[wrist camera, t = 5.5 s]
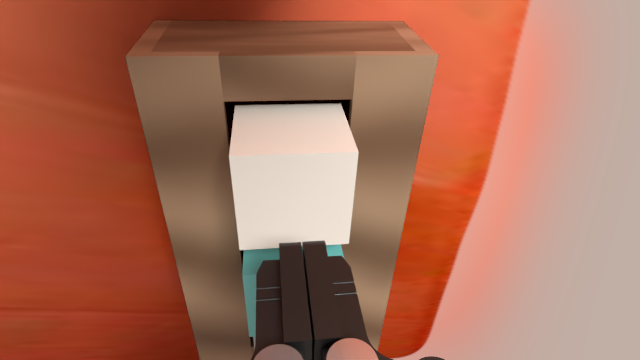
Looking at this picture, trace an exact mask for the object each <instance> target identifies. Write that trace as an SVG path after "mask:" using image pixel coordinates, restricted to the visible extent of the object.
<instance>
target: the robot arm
mask: <svg viewBox="0 0 640 360" xmlns="http://www.w3.org/2000/svg"><path fill="white" fill-rule="evenodd" d="M251 360H393V359H389V358H387V357H385V356H383V355H382V354H380V353H379V352H378V351H377V350H376V349H375V348H374V347H373V346H372V345H371V343H370V341H369V339H368V336H367V333H366V329H365V324H364V320H363V316H362V312H361V308H360V304H359V299H358V295H357V291H356V287H355V283H354V278H353V274H352V270H351V267H350V265H349V264H348V263H347V262H346V260H345V259H344V258H343V257H342V256H328V254H327V249H326V243H325V241H324V240H323V241H306V242H302V245H301V242H290V243H279V260H263V262H262V264H261V266H260V267H259V269H258V271H257V273H256V337H255V350H254V354H253V356H252V358H251ZM420 360H444V359H442V358H438V357H424V358H421V359H420Z"/></svg>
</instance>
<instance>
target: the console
mask: <svg viewBox="0 0 640 360" xmlns="http://www.w3.org/2000/svg"><path fill="white" fill-rule="evenodd" d="M438 57H439V55H438V54H437V53H436V52H435V51H434V50H433V49H432V48H431V47H430V46H429V45H428V44H427V43H426V42H425V41H424V40H422V39H421V38H420V37H419V36H418V35H417V34H416V33H415V32H414V31H413V30H412V29H411V28H410V27H409V26H408V25H407V24H406V23H405V22H402V21H221V20H154V21H153V22H152V23H151V24H150V26H149V27H148V28H147V30H146V31H145V32H144V33H143V35H142V36H141V37H140V38H139V40H138V41H137V42H136V43H135V45H134V46H133V47H132V48H131V50H130V51H129V52H128V53H127V55H126V56H125V58H126V62H127V67H128V71H129V75H130V79H131V83H132V87H133V91H134V95H135V99H136V103H137V107H138V111H139V115H140V119H141V123H142V127H143V131H144V135H145V139H146V143H147V147H148V151H149V155H150V160H151V164H152V168H153V172H154V176H155V180H156V184H157V188H158V192H159V196H160V200H161V204H162V208H163V212H164V216H165V220H166V224H167V228H168V232H169V236H170V240H171V244H172V248H173V253H174V257H175V261H176V265H177V269H178V273H179V277H180V281H181V285H182V289H183V293H184V297H185V301H186V305H187V309H188V313H189V317H190V321H191V325H192V329H193V333H194V337H195V341H196V346H197V350H198V354H199V358H200V360H251V358H252V356H253V354H254V341H253V337H249V330H248V321H247V312H246V303H245V294H244V286H243V277H242V272H243V262H242V253H241V250H239V241H238V232H237V224H236V215H235V206H234V197H233V188H232V179H231V170H230V162H229V151H230V144H229V135H228V125H227V116H226V107H225V102H226V101H285V100H344V99H350V108H349V120H348V124H349V127H350V130H351V132H352V135H353V138H354V141H355V143H356V146H357V149H358V152H359V154H358V163H357V172H356V182H355V191H354V201H353V210H352V219H351V229H350V238H349V244H341V247H342V251H343V256H344V259H345V260H346V262H347V263H348V264H349V265H350V267H351V270H352V274H353V278H354V283H355V287H356V291H357V295H358V299H359V304H360V308H361V312H362V316H363V320H364V324H365V329H366V333H367V336H368V339H369V341H370V343H371V345H372V346H373V347H374V348H375V349H376V350H378V346H379V341H380V336H381V331H382V326H383V322H384V317H385V312H386V307H387V302H388V297H389V293H390V288H391V283H392V278H393V273H394V269H395V264H396V259H397V254H398V249H399V245H400V240H401V235H402V230H403V225H404V220H405V216H406V211H407V206H408V201H409V196H410V192H411V187H412V182H413V177H414V172H415V168H416V163H417V158H418V153H419V148H420V143H421V139H422V134H423V129H424V124H425V119H426V115H427V110H428V105H429V100H430V95H431V90H432V86H433V81H434V76H435V71H436V66H437V62H438Z"/></svg>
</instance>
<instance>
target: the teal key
mask: <svg viewBox="0 0 640 360" xmlns="http://www.w3.org/2000/svg"><path fill="white" fill-rule="evenodd" d="M326 249H327V254H328V256H342V257H343V258H344V256H343V251H342V247H341V244H337V245H326ZM263 260H279V248H268V249H251V250H244V251H243V272H242V277H243V286H244V294H245V303H246V312H247V321H248V330H249V337H256V273H257V271H258V269H259V267H260V266H261V264H262V262H263Z"/></svg>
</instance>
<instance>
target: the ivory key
mask: <svg viewBox="0 0 640 360" xmlns="http://www.w3.org/2000/svg"><path fill="white" fill-rule="evenodd" d="M358 154H359V152H358V149H357V146H356V143H355V141H354V138H353V135H352V132H351V130H350V127H349V124H348V121H347V119H346V116H345V113H344V110H343V108H342V105H341V103H324V104H268V105H235V109H234V118H233V126H232V134H231V143H230V151H229V162H230V170H231V179H232V188H233V197H234V206H235V215H236V224H237V232H238V241H239V250H251V249H268V248H279V243H290V242H301V245H302V242H306V241H323V240H324V241H325V243H326V245H337V244H349V238H350V229H351V219H352V210H353V201H354V191H355V182H356V172H357V163H358Z"/></svg>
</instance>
